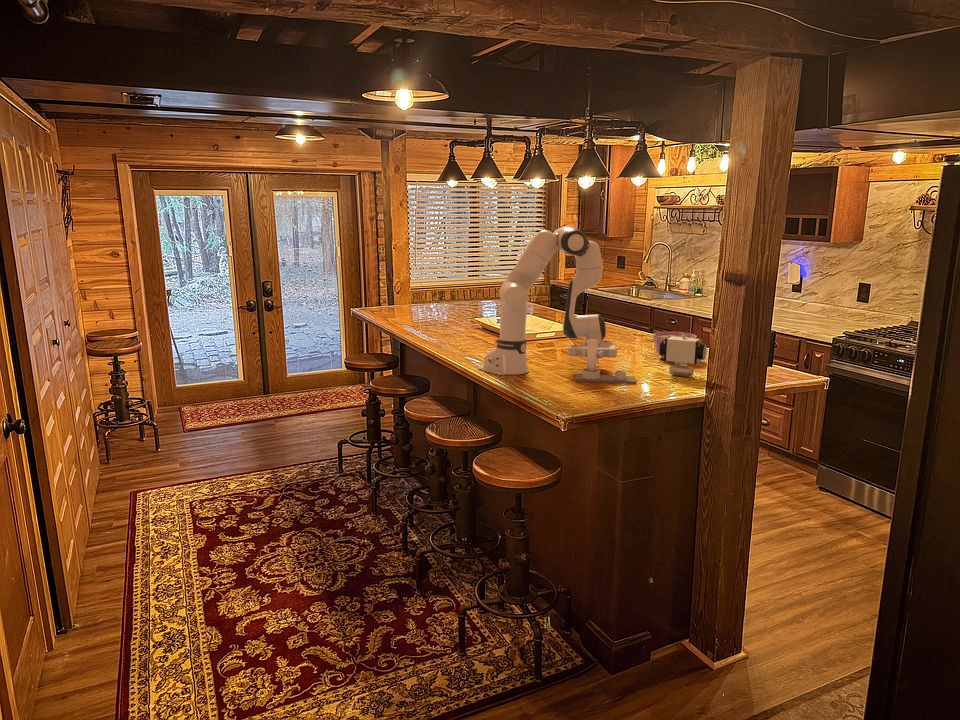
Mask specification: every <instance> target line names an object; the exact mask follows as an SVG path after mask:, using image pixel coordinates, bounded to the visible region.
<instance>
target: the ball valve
mask: <svg viewBox="0 0 960 720" xmlns="http://www.w3.org/2000/svg"><path fill="white" fill-rule="evenodd" d="M707 350H708V347H707V344H706V343H703V338H696V339H695V338H686V335H682V337H673V336H669V337H667V338H665V340H662V341H661V343H660V349H659V352H660V355H661V356H660V355H659V356H660V357H662V356H663V361H664V362H672V363H674V364H671V365H670V366H669V370H668V371H669V375H672V376H677V377H685V378H689V377H693V375H694V367H693V366H690V365H687V364H691V365H697V364H699V363H700V362H701V361H705V359H706V356H707V352H708V351H707Z"/></svg>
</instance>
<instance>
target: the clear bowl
mask: <svg viewBox="0 0 960 720" xmlns="http://www.w3.org/2000/svg"><path fill="white" fill-rule="evenodd" d="M652 335H653V341H654V347H655V351H656V354H657V355H659V356H660V357H663V356H661V355H660V352H659V349H660V343H661V341H662V340H665V338H667V337H669V336H673V337H682V335H686V338H695V339H697V337H698V335H695V334H694V333H689V332H682V331H657V332H654V333H653V334H652ZM663 358H664V357H663Z"/></svg>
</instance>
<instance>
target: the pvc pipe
mask: <svg viewBox="0 0 960 720" xmlns="http://www.w3.org/2000/svg"><path fill="white" fill-rule="evenodd" d="M597 359H598V358H597V340H594V339H590V340H588V341H587V357H586V368H587V371H591V372H595V371H596V369H597V362H598V360H597Z"/></svg>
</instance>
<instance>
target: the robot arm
mask: <svg viewBox="0 0 960 720" xmlns="http://www.w3.org/2000/svg"><path fill="white" fill-rule="evenodd" d="M558 251H560V252H563V253H565V254H568V255H571V256H574V258H575V259H574V260H575V269H576V270H575V273H574V274H575V275H574V277H573V279H570V281H569V283H568V288H567V289H568V290H567V294H566V303H565V312H564V318H563V322H562V333H563V335H564V336H566V337H567V338H568V339H577V338H584V340H583V343H582V344H571V345H569V346H568V348H567V355H568V356H570V357H584V358H587V341H588V340H590V339H594V340H597V359H601V358H602V359H603V358H617V356H618V355H617V354H618V348H617V347H616V346H617V345H615V344H614V342H613V341H608V340H604V339H605V338H606V334H607V333H606V332H607V331H606V329H607V328H606V322H605V319H604V318H603V316H602V315H600V314H598V313H597V314H596V313H595V314H584V315H583V314H581V315H580V314H578V315H576V314H575V310H576V309H575V308H576V302H577V301H576V300H577V297H578V296H579V295H580V294H581V293H583V292H586V291H587V290H589V289H592V288H594V287H595V286H597V284H599V283H600V281H601V280H602V277H603V261H602V252H601V249H600V246H599V244H598V243H597V242H596V241H593V240H589V239H588V238H587V237H586V235H585V233H584V232H583V231H582V230H580V229H578V228H576V227H574V226H571V225H570V226H569V225H561V226H558V227H556V228H555V229H554V230H552V231H550V230H547V229H542V230H540V231H538V232H537V233H536V235H535V236H534V237H532V239H531V241H530V242H529V244H528V245H527V246H526V248H525V250H524V251H523V253H522V255H521V256H520V258H519V260H517V263H516V264H515V266H514V267H513V269H511V271H510V273H509V274H508V276H507V277H506V278H505V280H504V281H503V283H502V285H501V286H500V288H499V293H498V294H499V298H500V319H499V339H497V340H495V341H494V344H496V347H494V348H493V349H492V350H490V351H489V352H488V353H487V354H485V356H484V359H483V364H481V365H479V366H478V370H481V371H484V372H488V373H491V374H495V375H499V376H506V375H523V374H527V373H529V368H528V363H527V356H526V355H527V339H526V330H527V329H526V325H527V323H526V322H527V311H528V301H529V299H528V297H529V294H528V293H529V291H531V289H532V287H533V285H534V284H536V282H537V280H539V278H540V277H541V275H542V273H544V270H546V269H545V268H546V267H547V265H548V264H549V262H550V261H551V259H552V257H553V256H554V255H555V254H556V253H557V252H558Z"/></svg>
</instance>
